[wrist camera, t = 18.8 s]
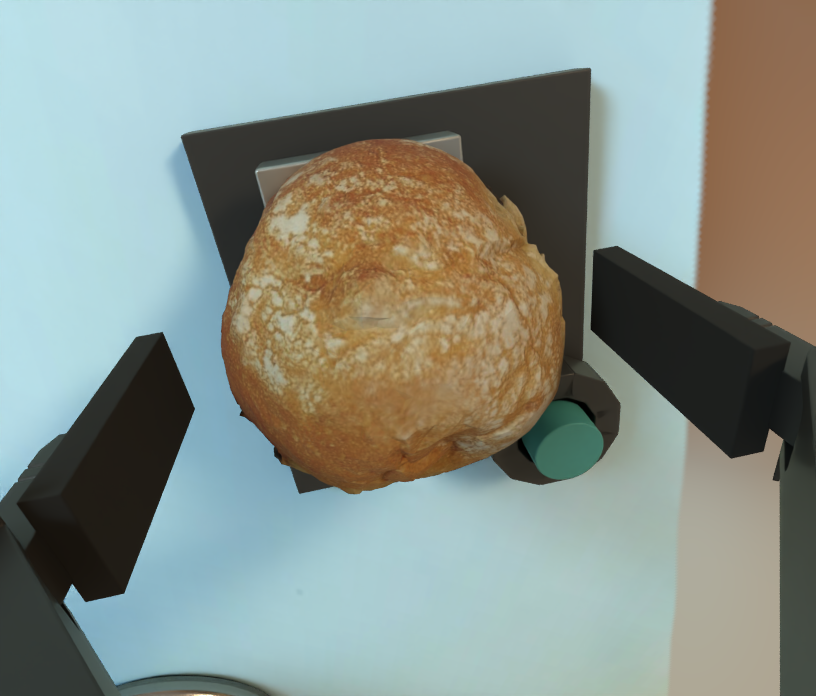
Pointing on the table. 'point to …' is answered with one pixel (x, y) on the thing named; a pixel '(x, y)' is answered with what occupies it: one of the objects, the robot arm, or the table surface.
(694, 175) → the table surface
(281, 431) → the bread roll
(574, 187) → the scale
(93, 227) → the table surface
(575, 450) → the tare button
